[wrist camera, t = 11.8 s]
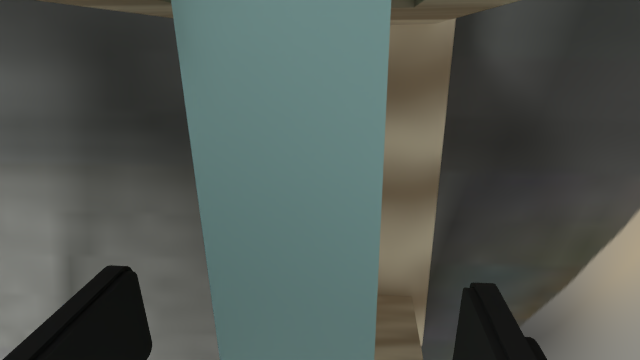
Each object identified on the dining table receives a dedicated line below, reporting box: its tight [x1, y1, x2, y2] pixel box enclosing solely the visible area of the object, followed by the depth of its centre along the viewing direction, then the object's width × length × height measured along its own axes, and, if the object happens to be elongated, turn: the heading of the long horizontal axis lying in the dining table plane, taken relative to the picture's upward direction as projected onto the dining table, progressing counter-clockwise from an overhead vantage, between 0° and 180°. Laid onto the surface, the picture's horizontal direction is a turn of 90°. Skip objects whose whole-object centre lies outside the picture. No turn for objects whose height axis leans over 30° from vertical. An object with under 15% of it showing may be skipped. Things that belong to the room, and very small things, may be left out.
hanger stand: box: [38, 0, 520, 360], centre depth 16 cm, size 25×12×16 cm, turn 1°
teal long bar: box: [171, 0, 391, 360], centre depth 11 cm, size 25×6×6 cm, turn 1°
